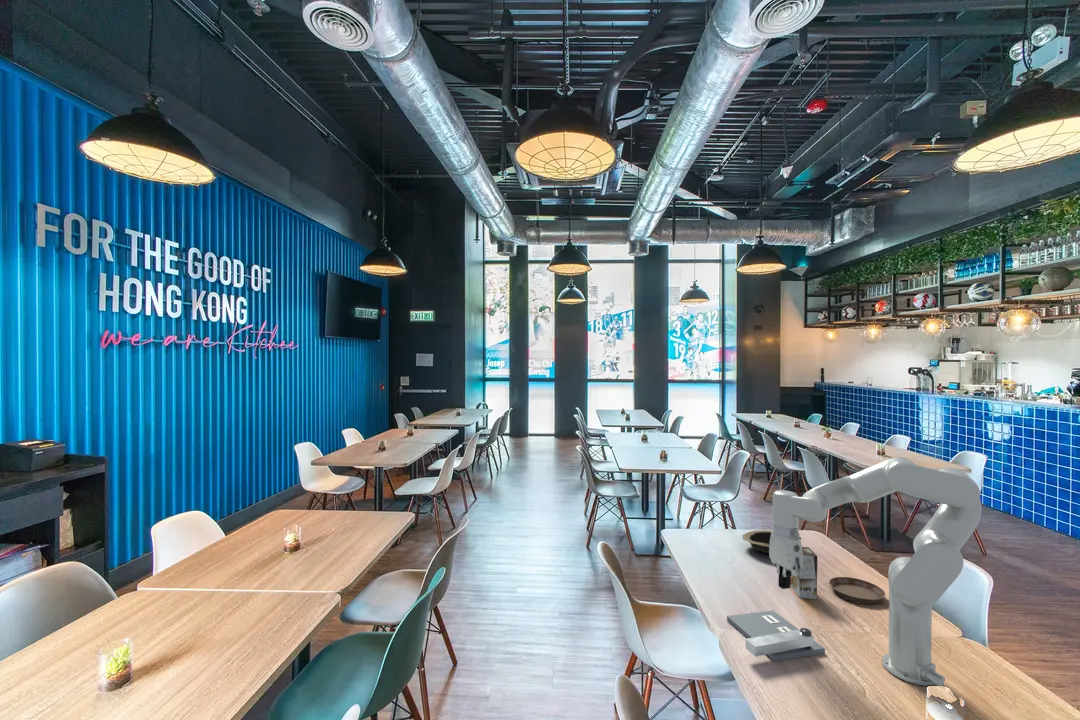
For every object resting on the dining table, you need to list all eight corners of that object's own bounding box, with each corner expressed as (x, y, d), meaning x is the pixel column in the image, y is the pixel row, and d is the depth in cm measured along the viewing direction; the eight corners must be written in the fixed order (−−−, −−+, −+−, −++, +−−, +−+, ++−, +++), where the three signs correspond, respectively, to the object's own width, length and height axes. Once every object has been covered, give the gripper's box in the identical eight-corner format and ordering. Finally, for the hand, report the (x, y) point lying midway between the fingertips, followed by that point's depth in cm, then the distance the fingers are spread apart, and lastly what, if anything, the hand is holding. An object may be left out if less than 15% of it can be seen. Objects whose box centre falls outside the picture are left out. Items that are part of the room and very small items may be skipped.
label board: (824, 653, 140) (824, 647, 140) (773, 661, 136) (773, 654, 136) (772, 614, 162) (772, 609, 162) (726, 620, 157) (727, 615, 157)
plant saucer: (849, 607, 168) (849, 598, 168) (819, 584, 186) (819, 576, 186) (897, 607, 168) (897, 598, 168) (862, 584, 186) (862, 576, 186)
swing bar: (804, 640, 143) (804, 626, 143) (815, 648, 139) (815, 633, 139) (745, 651, 137) (745, 636, 137) (755, 660, 134) (755, 644, 134)
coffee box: (817, 599, 172) (818, 556, 172) (798, 597, 174) (799, 554, 174) (808, 588, 181) (809, 546, 181) (790, 586, 183) (791, 545, 183)
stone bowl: (814, 563, 204) (813, 542, 204) (757, 567, 204) (756, 546, 204) (785, 541, 228) (784, 522, 228) (734, 544, 229) (733, 525, 228)
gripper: (813, 538, 143) (812, 597, 143) (778, 521, 158) (777, 576, 158) (793, 539, 142) (792, 600, 141) (759, 523, 156) (758, 578, 156)
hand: (784, 587), depth 150 cm, fingers closed
